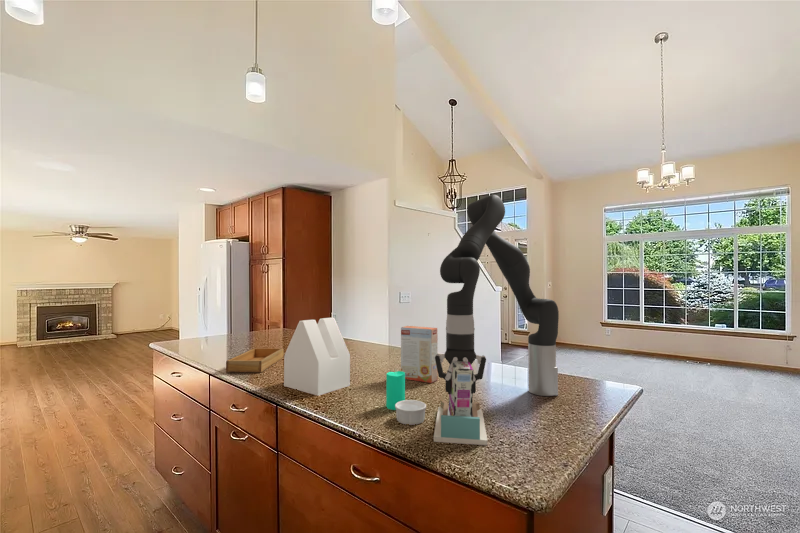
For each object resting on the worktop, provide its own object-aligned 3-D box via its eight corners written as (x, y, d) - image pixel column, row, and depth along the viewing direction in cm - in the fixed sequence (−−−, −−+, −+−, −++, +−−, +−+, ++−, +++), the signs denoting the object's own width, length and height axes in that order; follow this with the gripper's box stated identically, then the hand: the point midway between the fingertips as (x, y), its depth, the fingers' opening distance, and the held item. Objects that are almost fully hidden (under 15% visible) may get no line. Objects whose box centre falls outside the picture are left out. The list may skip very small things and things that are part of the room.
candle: (407, 404, 120) (407, 367, 121) (401, 411, 115) (401, 371, 115) (390, 402, 122) (390, 365, 123) (383, 408, 117) (383, 369, 117)
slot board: (481, 412, 113) (481, 392, 113) (487, 445, 91) (487, 419, 91) (438, 410, 115) (438, 389, 115) (433, 441, 93) (433, 416, 93)
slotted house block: (349, 385, 142) (350, 319, 142) (318, 396, 129) (318, 323, 130) (315, 377, 153) (316, 316, 154) (283, 386, 141) (284, 319, 142)
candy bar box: (473, 430, 97) (474, 369, 95) (453, 430, 97) (454, 369, 95) (465, 408, 108) (466, 353, 106) (448, 408, 108) (448, 353, 106)
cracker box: (438, 380, 149) (438, 327, 150) (431, 383, 144) (431, 329, 145) (407, 375, 157) (407, 325, 157) (400, 378, 152) (400, 326, 152)
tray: (253, 358, 190) (253, 347, 190) (283, 358, 190) (283, 347, 190) (225, 374, 160) (225, 360, 160) (261, 374, 160) (261, 360, 160)
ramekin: (430, 424, 105) (430, 408, 105) (400, 427, 102) (400, 411, 102) (419, 413, 113) (420, 398, 113) (391, 416, 111) (391, 401, 111)
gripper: (486, 329, 105) (486, 391, 104) (434, 328, 107) (434, 388, 106) (488, 333, 97) (488, 399, 97) (432, 332, 99) (432, 397, 99)
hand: (460, 393), depth 101 cm, fingers closed on candy bar box, 5 cm apart
